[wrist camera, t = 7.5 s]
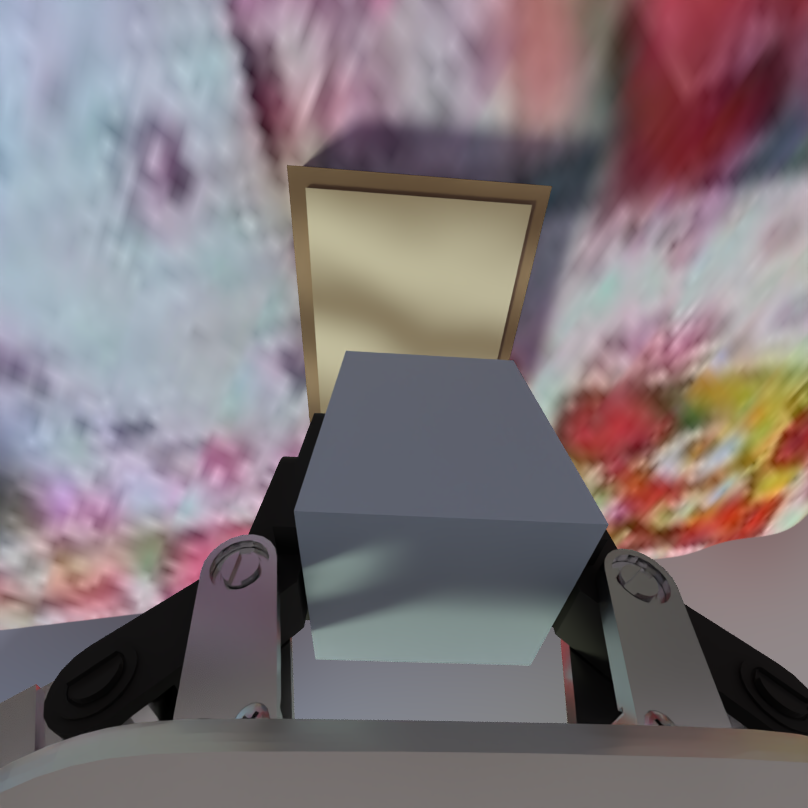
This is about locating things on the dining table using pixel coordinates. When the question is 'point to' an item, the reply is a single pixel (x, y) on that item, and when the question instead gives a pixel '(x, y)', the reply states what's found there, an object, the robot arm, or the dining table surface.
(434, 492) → the block
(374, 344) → the plinth
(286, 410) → the dining table surface
